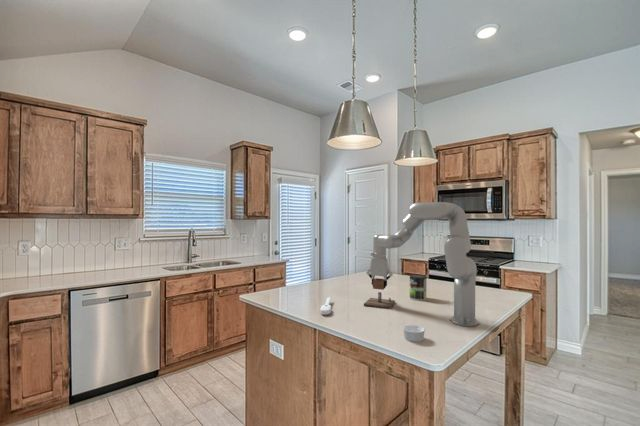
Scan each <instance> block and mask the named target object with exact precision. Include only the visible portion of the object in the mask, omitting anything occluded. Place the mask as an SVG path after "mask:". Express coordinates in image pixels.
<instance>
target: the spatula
mask: <svg viewBox="0 0 640 426" xmlns="http://www.w3.org/2000/svg"><path fill="white" fill-rule="evenodd" d="M331 300H332V296H326V301H325V303H324V304H322V305H321V307H320V308H319V312H320V314H321V315H323V316H328V315H330V314H331V313H332V305H330V303H331Z"/></svg>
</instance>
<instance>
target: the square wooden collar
mask: <svg viewBox="0 0 640 426" xmlns="http://www.w3.org/2000/svg"><path fill="white" fill-rule="evenodd" d="M384 280H385V279H384V278H377V277H376V278H375V277H374V280H373V285H372V289H374V290H381V291H382V290H383V291H384V289H386V287H385V288H384Z"/></svg>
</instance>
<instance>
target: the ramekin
mask: <svg viewBox="0 0 640 426" xmlns="http://www.w3.org/2000/svg"><path fill="white" fill-rule="evenodd" d="M402 330H403V337H404V339H405V340H406V341H408V342H413V343H419V342H422V341H424V338H425V330H426V329H425V328H424V327H423V326H421V325H414V324H409V325H405V326H403V327H402Z"/></svg>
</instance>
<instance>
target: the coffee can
mask: <svg viewBox="0 0 640 426" xmlns="http://www.w3.org/2000/svg"><path fill="white" fill-rule="evenodd" d="M409 299H410V300H413V301H426V300H427V275H424V274H414V273H413V274H410V275H409Z"/></svg>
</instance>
